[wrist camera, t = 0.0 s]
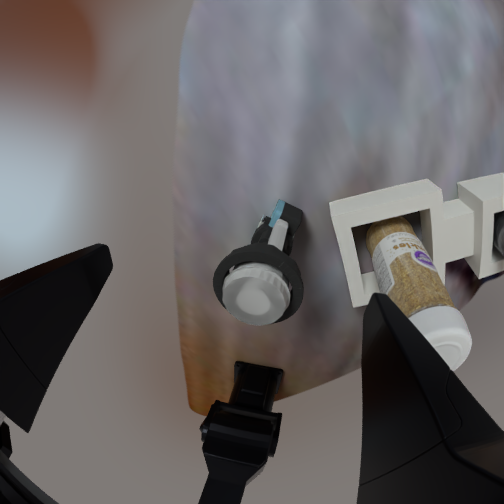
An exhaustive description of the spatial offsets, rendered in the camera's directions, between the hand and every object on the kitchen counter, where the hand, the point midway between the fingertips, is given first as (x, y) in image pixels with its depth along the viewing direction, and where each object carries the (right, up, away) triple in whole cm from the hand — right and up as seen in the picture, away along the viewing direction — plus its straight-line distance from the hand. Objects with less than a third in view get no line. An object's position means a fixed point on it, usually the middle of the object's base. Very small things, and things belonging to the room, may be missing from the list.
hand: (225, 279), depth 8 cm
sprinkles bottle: (+13, +2, +13) cm, 18 cm away
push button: (+3, +3, +15) cm, 16 cm away
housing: (+17, +3, +11) cm, 21 cm away
